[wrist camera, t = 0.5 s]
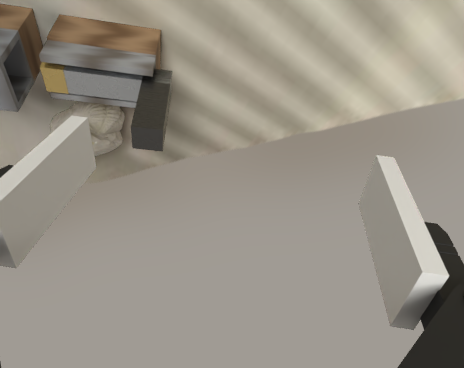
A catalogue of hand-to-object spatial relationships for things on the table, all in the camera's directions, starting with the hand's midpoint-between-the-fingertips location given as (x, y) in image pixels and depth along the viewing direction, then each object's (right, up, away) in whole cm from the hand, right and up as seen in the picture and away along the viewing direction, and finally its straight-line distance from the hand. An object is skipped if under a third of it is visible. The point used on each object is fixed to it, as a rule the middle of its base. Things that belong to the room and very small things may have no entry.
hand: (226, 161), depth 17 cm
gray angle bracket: (-14, +12, +26) cm, 32 cm away
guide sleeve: (-15, +17, +30) cm, 37 cm away
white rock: (-21, +10, +39) cm, 45 cm away
